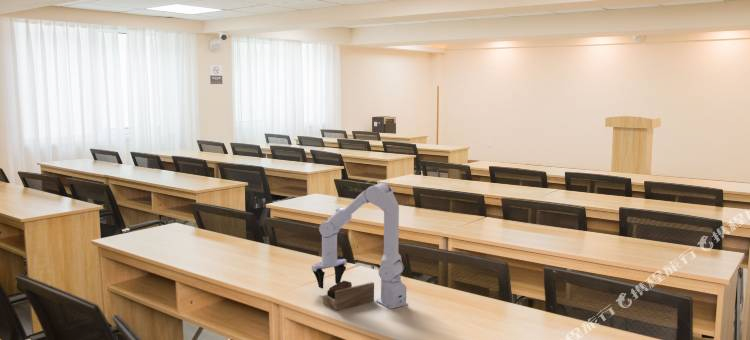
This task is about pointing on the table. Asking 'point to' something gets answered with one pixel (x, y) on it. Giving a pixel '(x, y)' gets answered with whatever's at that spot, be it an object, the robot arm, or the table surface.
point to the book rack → (351, 296)
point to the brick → (338, 288)
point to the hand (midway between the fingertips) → (329, 285)
